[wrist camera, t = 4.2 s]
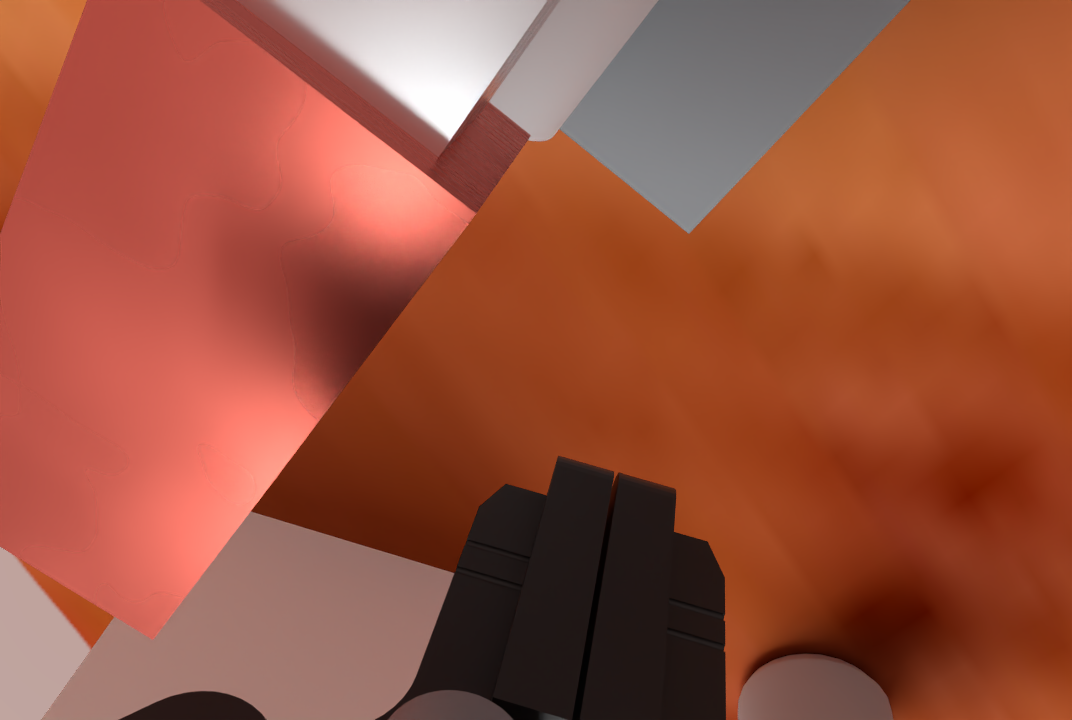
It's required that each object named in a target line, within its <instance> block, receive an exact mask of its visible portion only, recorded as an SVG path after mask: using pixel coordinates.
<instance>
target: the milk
mask: <svg viewBox="0 0 1072 720" xmlns="http://www.w3.org/2000/svg"><path fill="white" fill-rule="evenodd" d="M453 576H454V573H452V572H449V571H446V570H442V569H439V568H436V567H432V566H429V565H426V564H423V563H419V562H416V561H413V560H409V559H406V558H403V557H399V556H396V555H393V554H390V553H386V552H383V551H380V550H376V549H373V548H370V547H366V546H363V545H360V544H356V543H353V542H350V541H347V540H343V539H340V538H337V537H333V536H330V535H327V534H323V533H320V532H317V531H313V530H310V529H307V528H304V527H300V526H297V525H294V524H290V523H287V522H284V521H280V520H277V519H274V518H271V517H267V516H264V515H261V514H257V513H254V512H251V511H250V513H249V514H248V515H247V517H246V518H245V519H244V521H243V522H242V523H241V525H240V526H239V527H238V529H237V530H236V531H235V533H234V534H233V535H232V537H231V538H230V539H229V541H228V542H227V543H226V544H225V546H224V547H223V548H222V550H221V551H220V552H219V554H218V555H217V556H216V558H215V559H214V560H213V562H212V563H211V564H210V566H209V567H208V568H207V570H206V571H205V572H204V574H203V575H202V576H201V577H200V579H199V580H198V581H197V583H196V584H195V585H194V587H193V588H192V589H191V591H190V592H189V593H188V595H187V596H186V597H185V599H184V600H183V601H182V603H181V604H180V605H179V607H178V608H177V609H176V610H175V612H174V613H173V614H172V616H171V617H170V618H169V620H168V621H167V622H166V624H165V625H164V626H163V628H162V629H161V630H160V632H159V633H158V634H157V636H156V637H155V638H154V640H152V639H150V638H149V637H147V636H145V635H144V634H142V633H140V632H139V631H137V630H136V629H134V628H132V627H131V626H129V625H127V624H126V623H124V622H123V621H121V620H119V619H118V618H116V617H114V618H113V620H112V621H111V623H110V624H109V625H108V627H107V628H106V630H105V631H104V632H103V634H102V635H101V637H100V638H99V639H98V641H97V642H96V644H95V645H94V647H93V648H92V649H91V651H90V652H89V654H88V655H87V657H86V658H85V659H84V661H83V662H82V663H81V665H80V666H79V668H78V669H77V670H76V672H75V673H74V675H73V676H72V677H71V679H70V680H69V682H68V683H67V685H66V686H65V687H64V689H63V690H62V692H61V693H60V694H59V696H58V697H57V699H56V700H55V701H54V703H53V704H52V706H51V707H50V708H49V710H48V711H47V713H46V714H45V715H44V717H43V718H42V720H119V719H121V718H123V717H125V716H127V715H129V714H132V713H134V712H136V711H138V710H140V709H142V708H144V707H146V706H149V705H151V704H153V703H155V702H157V701H160V700H162V699H165V698H167V697H170V696H174V695H178V694H182V693H186V692H195V691H215V692H220V693H226V694H230V695H233V696H235V697H238V698H241V699H243V700H244V701H246V702H248V703H249V704H251V705H253V706H254V707H255V708H256V709H257V710H258V711H260V712H261V713H262V714H263V716H264V717H265V718H266V720H375V719H377V718H379V717H380V716H382V715H384V714H385V713H386V712H388V711H389V710H390V709H392V708H393V707H394V706H395V705H396V704H397V703H398V702H399V701H400V700H401V699H402V698H403V697H404V696H405V694H406V693H407V692H408V690H409V689H410V687H411V686H412V683H413V681H414V679H415V677H416V675H417V672H418V670H419V667H420V664H421V661H422V659H423V656H424V653H425V651H426V648H427V645H428V643H429V640H430V637H431V635H432V632H433V629H434V627H435V624H436V621H437V619H438V616H439V613H440V611H441V608H442V605H443V602H444V600H445V597H446V594H447V592H448V589H449V586H450V584H451V581H452V578H453Z"/></svg>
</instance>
